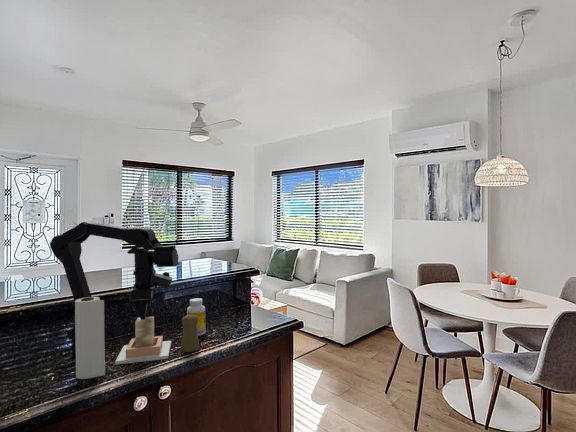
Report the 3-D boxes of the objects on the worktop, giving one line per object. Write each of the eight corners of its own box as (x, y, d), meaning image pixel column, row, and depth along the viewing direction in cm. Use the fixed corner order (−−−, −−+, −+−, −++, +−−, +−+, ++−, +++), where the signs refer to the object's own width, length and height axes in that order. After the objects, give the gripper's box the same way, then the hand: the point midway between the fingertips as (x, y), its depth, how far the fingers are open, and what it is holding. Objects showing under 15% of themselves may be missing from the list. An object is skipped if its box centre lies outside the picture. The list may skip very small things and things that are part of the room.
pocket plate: (115, 364, 102) (115, 352, 102) (124, 348, 115) (124, 337, 115) (168, 358, 106) (168, 347, 106) (171, 343, 119) (171, 333, 119)
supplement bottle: (206, 335, 126) (206, 300, 126) (188, 338, 124) (187, 302, 124) (204, 329, 132) (203, 296, 132) (186, 332, 130) (186, 298, 130)
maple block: (135, 354, 107) (135, 322, 107) (138, 348, 112) (137, 317, 112) (152, 352, 109) (152, 320, 109) (154, 346, 113) (154, 316, 113)
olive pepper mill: (194, 352, 110) (193, 318, 110) (177, 351, 112) (176, 317, 112) (202, 345, 116) (202, 313, 116) (186, 344, 118) (186, 312, 117)
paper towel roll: (73, 374, 96) (72, 298, 96) (97, 367, 100) (96, 295, 100) (80, 383, 91) (79, 303, 91) (105, 375, 95) (103, 299, 95)
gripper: (168, 270, 103) (169, 321, 103) (172, 262, 121) (173, 305, 121) (128, 272, 100) (129, 325, 100) (138, 263, 118) (139, 308, 119)
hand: (145, 315), depth 110 cm, fingers open, 9 cm apart
